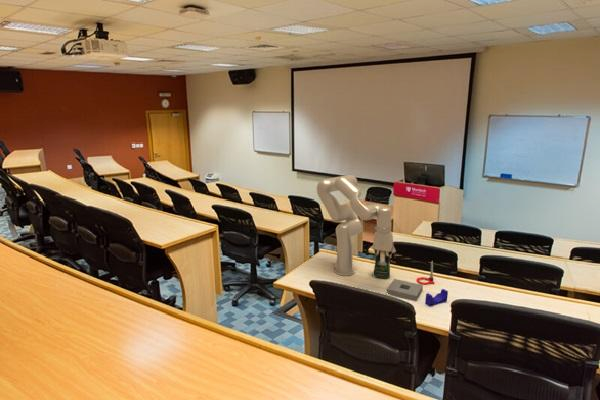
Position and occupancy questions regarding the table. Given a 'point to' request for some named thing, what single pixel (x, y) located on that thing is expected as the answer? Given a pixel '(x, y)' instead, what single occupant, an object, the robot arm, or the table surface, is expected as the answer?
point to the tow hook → (427, 278)
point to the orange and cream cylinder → (382, 257)
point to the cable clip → (436, 298)
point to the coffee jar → (382, 269)
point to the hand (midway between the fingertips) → (383, 261)
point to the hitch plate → (405, 289)
